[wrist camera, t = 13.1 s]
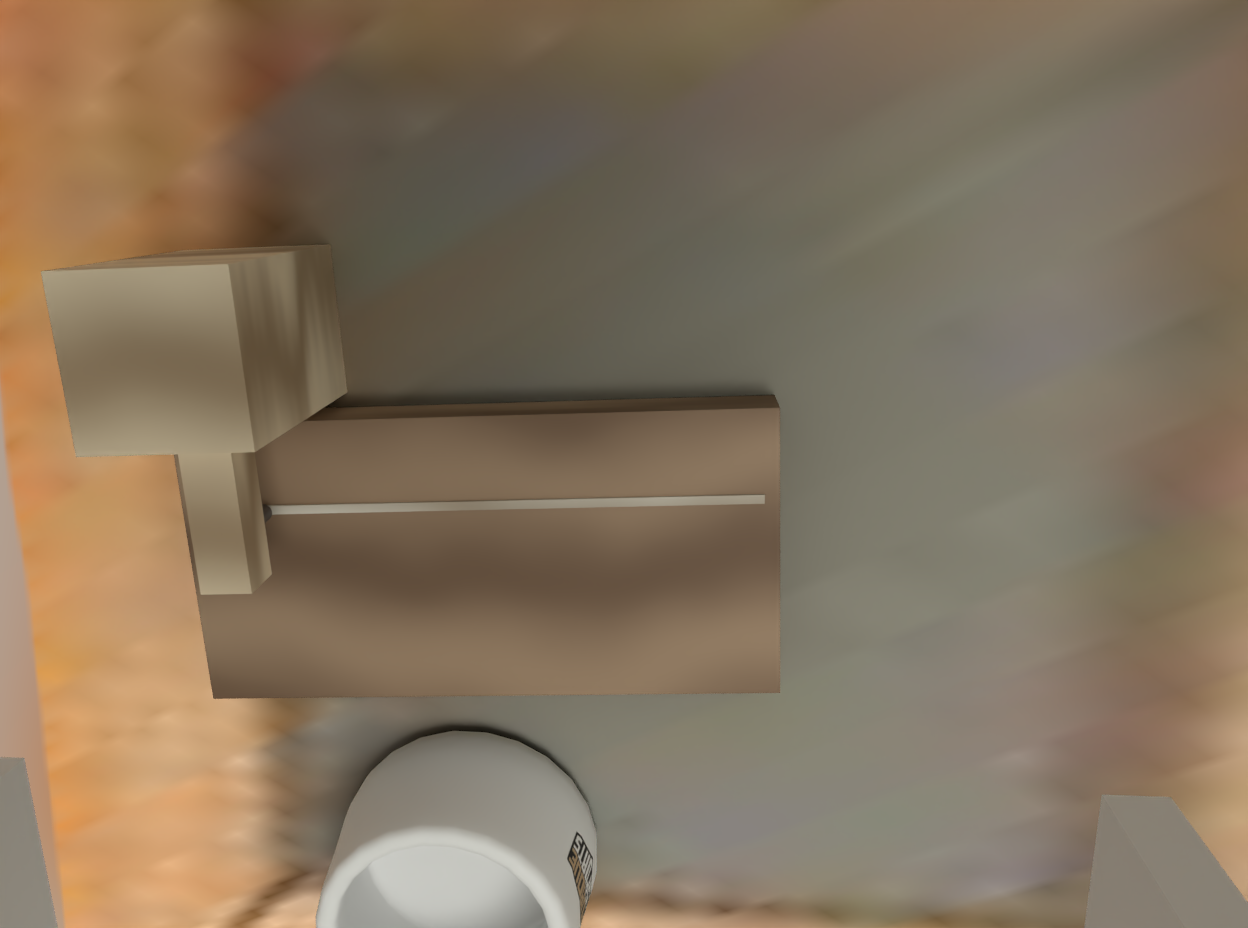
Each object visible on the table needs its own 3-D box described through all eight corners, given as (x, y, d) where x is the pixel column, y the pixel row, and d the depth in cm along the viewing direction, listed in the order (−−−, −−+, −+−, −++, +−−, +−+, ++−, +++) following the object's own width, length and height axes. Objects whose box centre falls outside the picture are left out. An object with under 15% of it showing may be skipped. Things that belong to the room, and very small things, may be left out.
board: (196, 411, 36) (167, 425, 34) (774, 395, 35) (780, 408, 33) (236, 672, 39) (212, 699, 37) (774, 666, 37) (780, 694, 35)
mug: (331, 731, 39) (270, 827, 33) (582, 710, 38) (564, 805, 33) (388, 991, 42) (341, 1120, 36) (621, 977, 41) (611, 1107, 36)
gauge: (184, 250, 34) (40, 271, 27) (330, 244, 34) (228, 264, 26) (227, 532, 37) (108, 626, 29) (363, 529, 37) (279, 623, 29)
